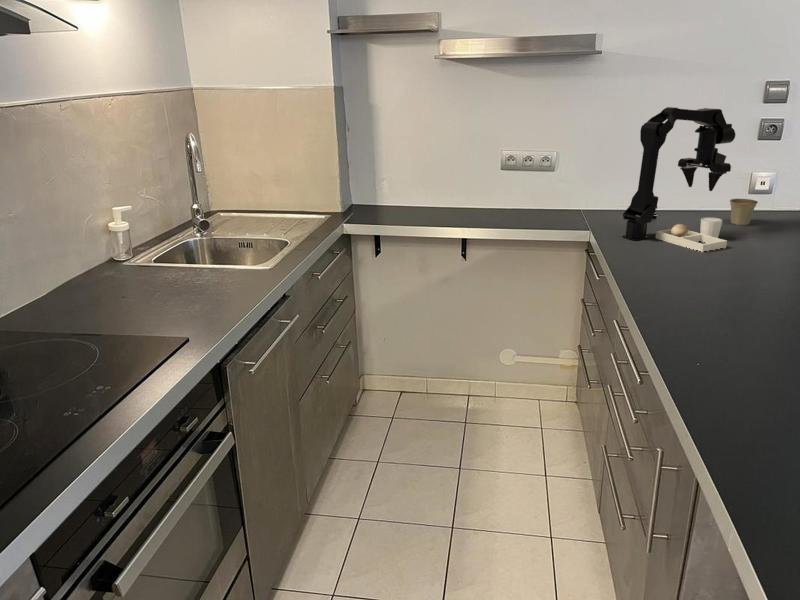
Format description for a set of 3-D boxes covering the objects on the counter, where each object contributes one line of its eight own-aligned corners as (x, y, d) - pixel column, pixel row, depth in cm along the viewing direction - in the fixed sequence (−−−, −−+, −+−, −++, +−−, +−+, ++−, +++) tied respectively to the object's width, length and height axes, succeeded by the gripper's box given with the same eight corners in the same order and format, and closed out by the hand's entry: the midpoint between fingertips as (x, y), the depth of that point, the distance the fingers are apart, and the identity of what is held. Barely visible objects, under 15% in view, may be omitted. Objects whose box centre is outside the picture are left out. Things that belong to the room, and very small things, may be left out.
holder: (702, 252, 200) (703, 245, 200) (655, 238, 218) (656, 231, 217) (726, 248, 204) (727, 240, 203) (678, 234, 222) (679, 227, 221)
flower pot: (759, 226, 229) (763, 203, 226) (733, 226, 229) (737, 204, 226) (746, 220, 238) (749, 198, 235) (721, 221, 238) (725, 198, 235)
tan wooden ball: (678, 242, 212) (680, 226, 210) (666, 238, 217) (668, 223, 215) (690, 240, 214) (693, 224, 212) (678, 236, 219) (680, 221, 217)
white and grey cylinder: (717, 242, 211) (720, 222, 209) (695, 239, 215) (698, 220, 212) (721, 237, 216) (724, 218, 214) (700, 235, 220) (703, 216, 218)
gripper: (745, 146, 213) (738, 190, 219) (702, 141, 230) (696, 183, 235) (722, 148, 209) (715, 194, 215) (679, 143, 226) (674, 185, 231)
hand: (700, 188), depth 224 cm, fingers open, 9 cm apart
